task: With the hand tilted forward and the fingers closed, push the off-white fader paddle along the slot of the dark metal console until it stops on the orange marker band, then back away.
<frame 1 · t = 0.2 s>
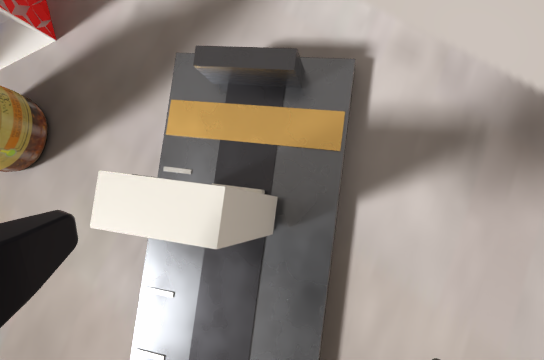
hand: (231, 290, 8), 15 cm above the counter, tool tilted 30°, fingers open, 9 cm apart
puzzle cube: (10, 20, 30), on the counter
fader tab: (206, 209, 18), point 6 cm above the counter, slide at 2.0 cm
console: (240, 239, 24), on the counter
sauce bottle: (22, 133, 29), on the counter
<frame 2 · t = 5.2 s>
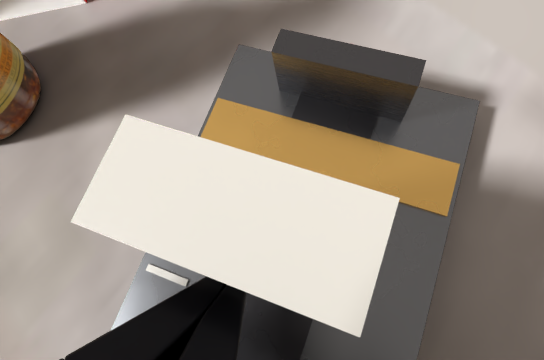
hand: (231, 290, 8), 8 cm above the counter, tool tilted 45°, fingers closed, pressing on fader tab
fader tab: (266, 245, 10), point 6 cm above the counter, slide at 2.3 cm, touching gripper
console: (268, 313, 16), on the counter
sauce bottle: (2, 100, 22), on the counter
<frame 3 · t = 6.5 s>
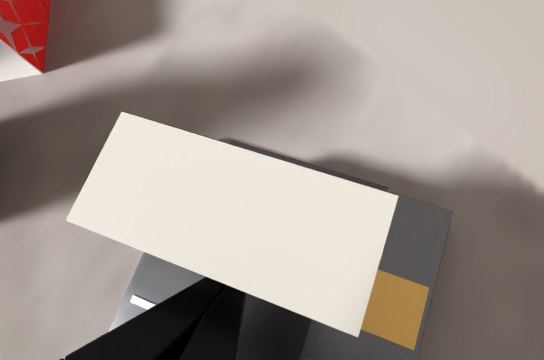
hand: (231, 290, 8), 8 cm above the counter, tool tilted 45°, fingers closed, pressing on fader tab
fader tab: (265, 244, 10), point 6 cm above the counter, slide at 7.8 cm, touching gripper
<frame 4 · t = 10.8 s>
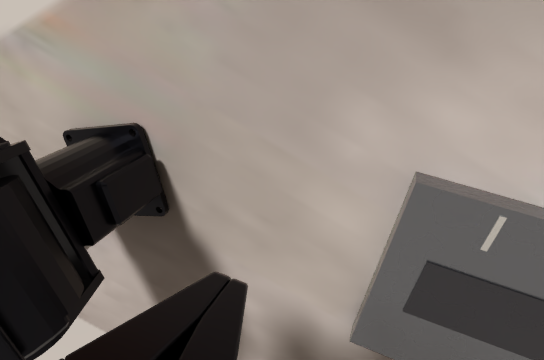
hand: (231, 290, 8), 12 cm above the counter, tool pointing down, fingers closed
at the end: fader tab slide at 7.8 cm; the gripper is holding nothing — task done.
